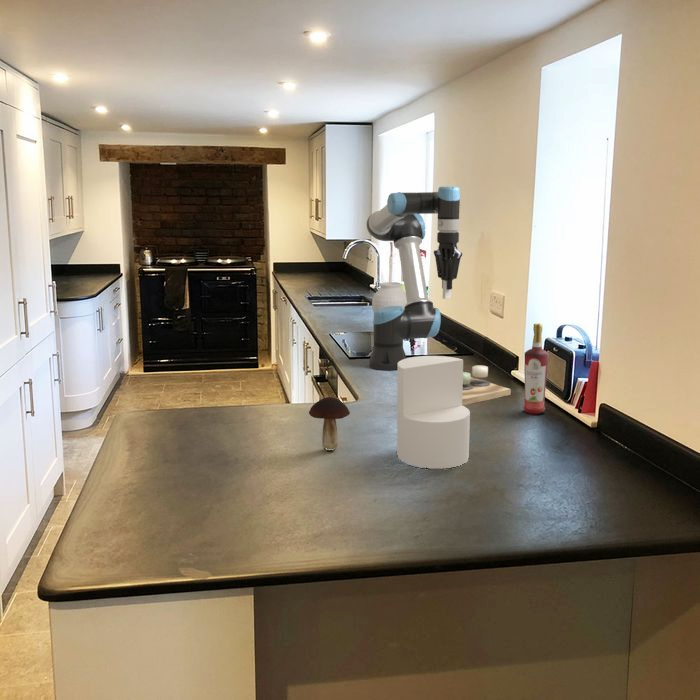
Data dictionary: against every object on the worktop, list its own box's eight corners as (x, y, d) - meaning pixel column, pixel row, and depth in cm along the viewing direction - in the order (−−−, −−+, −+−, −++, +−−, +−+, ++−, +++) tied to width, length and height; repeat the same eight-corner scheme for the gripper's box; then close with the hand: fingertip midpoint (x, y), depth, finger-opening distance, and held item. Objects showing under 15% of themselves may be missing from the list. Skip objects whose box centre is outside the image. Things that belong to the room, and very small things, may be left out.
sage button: (451, 381, 247) (451, 373, 246) (463, 379, 250) (463, 371, 249) (461, 385, 242) (461, 376, 242) (473, 382, 245) (473, 374, 245)
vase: (410, 338, 337) (410, 285, 331) (372, 339, 337) (372, 286, 331) (408, 331, 354) (408, 280, 348) (371, 331, 354) (371, 281, 349)
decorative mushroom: (355, 446, 197) (355, 393, 194) (342, 460, 187) (341, 404, 184) (318, 441, 201) (317, 390, 197) (303, 455, 190) (301, 401, 187)
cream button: (468, 375, 251) (468, 366, 250) (480, 372, 254) (480, 364, 253) (479, 378, 246) (479, 369, 246) (491, 376, 249) (491, 367, 249)
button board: (414, 391, 250) (414, 384, 249) (466, 380, 262) (466, 374, 262) (456, 406, 231) (457, 399, 231) (510, 394, 244) (510, 387, 244)
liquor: (547, 410, 227) (552, 323, 221) (543, 416, 220) (548, 327, 214) (524, 407, 230) (528, 321, 224) (519, 414, 223) (523, 325, 217)
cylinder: (385, 450, 194) (385, 360, 188) (445, 440, 201) (447, 353, 196) (418, 474, 177) (419, 376, 172) (482, 462, 184) (485, 368, 179)
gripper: (427, 231, 255) (427, 297, 260) (452, 232, 244) (450, 301, 249) (444, 230, 259) (443, 295, 264) (468, 231, 248) (467, 299, 253)
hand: (446, 298), depth 256 cm, fingers closed
